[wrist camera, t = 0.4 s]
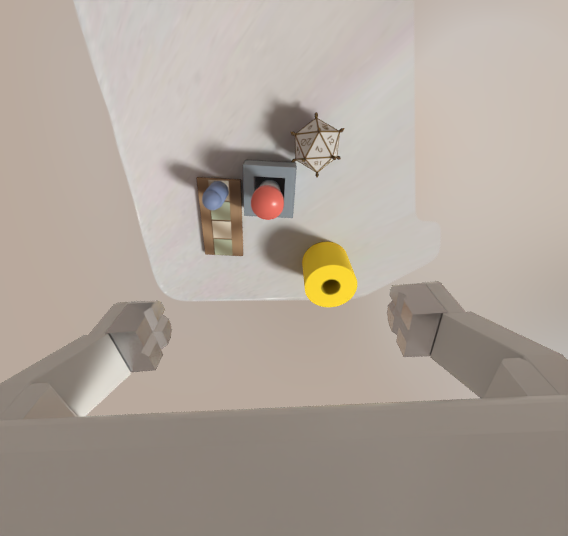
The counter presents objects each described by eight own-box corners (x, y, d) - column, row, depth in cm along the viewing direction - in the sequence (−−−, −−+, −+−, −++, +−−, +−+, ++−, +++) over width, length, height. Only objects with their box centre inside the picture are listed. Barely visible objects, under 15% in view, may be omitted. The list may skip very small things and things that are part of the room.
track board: (197, 177, 51) (196, 178, 50) (240, 179, 51) (240, 180, 50) (206, 252, 59) (205, 254, 59) (243, 254, 60) (242, 256, 59)
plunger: (254, 175, 48) (250, 186, 42) (284, 177, 48) (284, 188, 42) (254, 204, 51) (251, 218, 45) (283, 205, 51) (282, 220, 45)
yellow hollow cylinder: (330, 287, 64) (336, 314, 56) (293, 268, 62) (295, 294, 54) (357, 255, 60) (368, 279, 52) (319, 233, 57) (324, 256, 49)
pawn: (208, 180, 50) (197, 192, 44) (228, 181, 50) (219, 193, 44) (210, 199, 52) (200, 213, 46) (229, 200, 52) (221, 214, 46)
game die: (306, 149, 52) (279, 177, 47) (307, 101, 45) (275, 128, 40) (350, 160, 49) (326, 192, 44) (358, 110, 42) (330, 141, 37)
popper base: (245, 159, 49) (242, 164, 46) (295, 162, 49) (296, 167, 46) (246, 208, 54) (244, 215, 51) (292, 210, 54) (292, 218, 51)
